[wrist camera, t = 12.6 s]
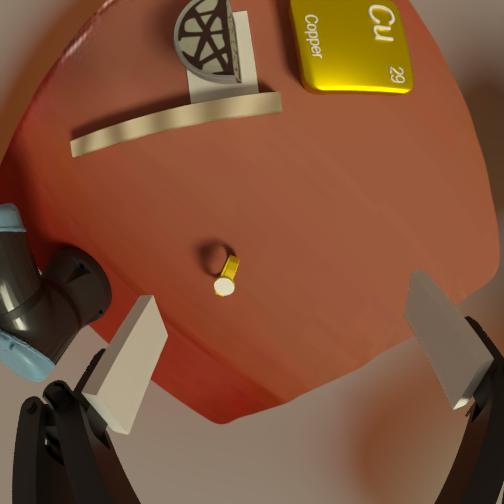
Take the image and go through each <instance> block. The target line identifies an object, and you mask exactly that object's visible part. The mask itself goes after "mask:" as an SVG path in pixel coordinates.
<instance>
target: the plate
mask: <svg viewBox="0 0 504 504" xmlns="http://www.w3.org/2000/svg"><path fill="white" fill-rule="evenodd" d="M233 16H234V20H235V23H236V31H237V40H238V49H239V57H240V66H241V75H242V83H237V84H218V83H213V82H209V81H206V80H203V79H201V78H199V77H197V76H195V75H194V74H192V73H191V72H190V71H188V70H187V76H188V84H189V92H190V99H191V104H195V103H200V102H205V101H210V100H216V99H222V98H228V97H235V96H242V95H250V94H258V93H259V90H258V82H257V75H256V68H255V62H254V55H253V48H252V41H251V35H250V29H249V22H248V16H247V11H240V12H233Z"/></svg>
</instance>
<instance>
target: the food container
mask: <svg viewBox="0 0 504 504" xmlns="http://www.w3.org/2000/svg"><path fill="white" fill-rule="evenodd" d="M173 41H174V47H175V50H176V52H177V55H178V58H179V59H180V61H181V63H182V64H183V65H184V66H185V67H186V69H187V70H188V71H190V72H191V73H192V74H194V75H195V76H197V77H199V78H201V79H203V80H206V81H209V82H213V83H218V84H237V83H242V75H241V66H240V57H239V49H238V40H237V31H236V23H235V20H234V16H233V13H232V9H231V6H230V3H229V0H192V1H191V2H190V3H189V4H188V5H187V6H186V7H185V8H184V9H183V11H182V12H181V14H180V15H179V17H178V19H177V22H176V25H175V28H174V35H173Z"/></svg>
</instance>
